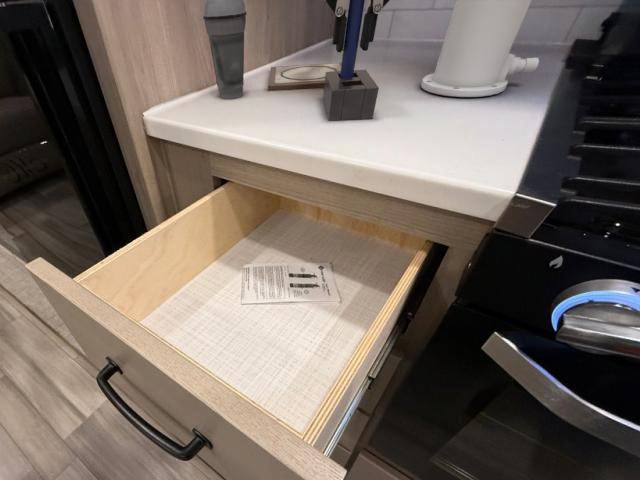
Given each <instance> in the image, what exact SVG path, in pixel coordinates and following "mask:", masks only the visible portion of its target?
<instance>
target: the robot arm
mask: <svg viewBox="0 0 640 480" xmlns="http://www.w3.org/2000/svg"><path fill="white" fill-rule="evenodd" d="M323 1H324V2H325V3H326V4H327V6H328V7H329V9H330V10H331V11H332V13H333V14H334V24H333V34H332V42H331V43H332V45H335V50H336V52H337V53H342V52H343V49H344V41H345V33H346V25H347V17H348V16H347V15H346V14H347V13H346V12H347V10H346V4H347V0H323ZM390 1H391V0H369V6H368V7H367V11H366V12H365V13H364V15H363V23H362V27H361V28H362V29H361V33H360V40H359V48H360V49H361V50H362V51H365V52H366V51H368V50H369V46H370V43H373V42H374V39H375V33H376V28H377V22H378V16H379V14H380V13H381V12H382V11H383V9H384V7H385V6H386V5H387V4H388V3H389V2H390ZM531 3H532V0H456V1H455V4H454V7H453V10H452V14H451V17H450V21H449V24H448V26H447V30H446V33H445V37H444V40H443V43H442V48H441V49H440V53H439V56H438V59H437V63H436V66H435V70H434V72H433V73H430V74H427V75H425V76H424V77H422V80H421V83H420V87H421V88H422V89H423V90H424V91H425V92H428V93H431V94H435V95H439V96H444V97H453V98H481V97H489V96H494V95H498V94H501V93H503V91H505V90H506V88H507V86H508V84H509V81H508V78H507V77H511V76H512V75H513V74H515V73H516V74H517V73H518V74H526V73H527V74H530V73H534V72H535V71H536V69H537V68H538V66H539V63H540V58H539V57H525V58H522V57H521V56H516V55H515V54H513V53H511V50H512V48H513V45H514V42H515V41H516V38H517V35H518V34H519V31H520V28H521V26H522V24H523V21H524V19H525V17H526V14H527V12H528V9H529V7H530V6H531Z"/></svg>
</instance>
